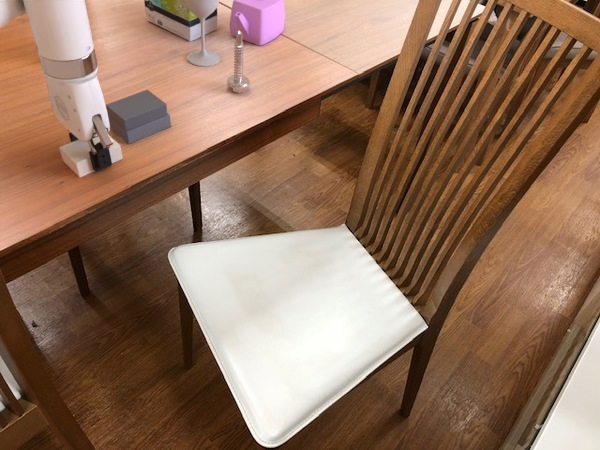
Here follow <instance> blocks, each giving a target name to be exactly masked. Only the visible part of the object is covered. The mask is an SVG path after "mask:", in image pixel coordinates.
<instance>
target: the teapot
mask: <svg viewBox="0 0 600 450" xmlns="http://www.w3.org/2000/svg"><path fill="white" fill-rule="evenodd" d="M285 15H286V14H285V2H284V0H233V1H232V5H231V10H230V18H229V31H230V34H231V36H233V37H235V38H236V31H238V30H240V31H241V32H242V41H245V42H248V43H251V44H253V45H257V46H264V45H265V44H268V43H270V42H271V41H273V40H274V39H276V38H277V37H279V35H281V34H282V33H283V31H284V28H285V19H286V16H285Z"/></svg>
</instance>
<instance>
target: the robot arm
mask: <svg viewBox="0 0 600 450" xmlns="http://www.w3.org/2000/svg"><path fill="white" fill-rule="evenodd" d="M24 15H26V16H27V19H28V22H29V23H28V24H29V26H30V30H31V34H32V37H33V40H34V44H35V47H36V50H37V54H38V57H39V62H40V64H41V68H42V73H43V74H44V77H45V83H46V87H47V88H46V89H47V93H48V96H49V101H50V105H51V109H52V113H53V115H54V117H55V118H56V120H57V121H58V122H59V123H60V124H61V125H62V126H64V127H65V128H66V130H67V131H68V136H69V140H70V143H71V142H74V141H76V140H81V141H84V142H86V141H87V142H88V145H89V147H90V150H91V151H90V152H89V155H90V159H91V163H92V167H93V170H94V172H97V173H98V172H100V171H102V170H104V169H107V168H109V167H111V166H112V164H113V163H112V161H111V156H110V151H109V148H110V146H111V145H113V142H112V140H111V138H112V137H111V135H110V134H109V133H110V130H111V128H110V124H109V118H108V113H107V109H106V102H105V98H104V94H103V91H102V87H101V84H100V81H99V78H98V76H97V73H98V71H99V64H98V59H97V54H96V49H95V45H94V40H93V35H92V30H91V24H90V20H89V14H88V9H87V4H86V0H0V29H2V28H3V27H5V26H6V25H8V24H10V23H12V22H13V21H15V20H16V19H17V18H19V17H22V16H24ZM96 137H99V139H100V142H99V143H97V144H96V145H94V142H93V138H96ZM110 137H111V138H110Z"/></svg>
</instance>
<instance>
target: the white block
mask: <svg viewBox="0 0 600 450" xmlns="http://www.w3.org/2000/svg"><path fill="white" fill-rule="evenodd" d="M110 138H111V140H112V142H113V145H111V146H110V148H109V151H110V156H111V161H112V164H115V163H117V162H119V161H121V160H123V159H124V158H123V152H122V148H121V144H120V143H118V142H117V141H116V140H115V139H114V138H112V136H110ZM93 142H94V145H96V144H97V143H99V142H100V139H99V137H96V138H93ZM58 148H59V152H60V155H61V159H62V162H63V163H64V164H66V166H67V167H68V168H69V169H70V170H71V171H72V172H74V174H75V175H76V176H77V177H78V178H83V177H85V176H88V175H89V174H91V173H94V172H95V171H94V170H93V167H92V163H91V159H90V155H89V152H90V151H91V150H90V147H89V145H88V142H87V141H86V142H84V141H81V140H76V141H74V142H71V141H70V142H69V143H66V144H64V145H61V146H59V147H58Z"/></svg>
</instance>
